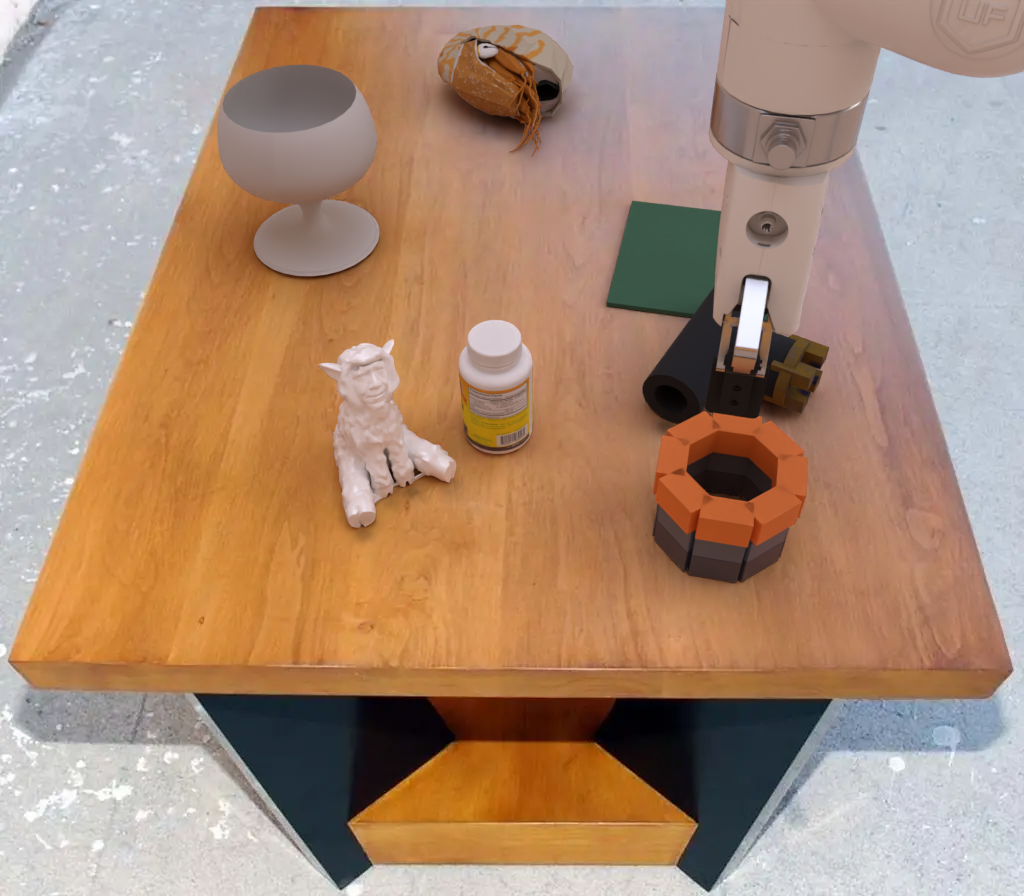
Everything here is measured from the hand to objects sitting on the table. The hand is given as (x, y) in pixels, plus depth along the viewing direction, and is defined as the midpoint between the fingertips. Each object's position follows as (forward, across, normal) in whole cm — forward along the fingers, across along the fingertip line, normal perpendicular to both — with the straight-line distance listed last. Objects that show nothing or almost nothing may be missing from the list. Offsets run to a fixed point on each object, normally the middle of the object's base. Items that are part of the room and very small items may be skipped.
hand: (739, 358), depth 64 cm
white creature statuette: (+15, -2, +25) cm, 30 cm away
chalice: (+15, +24, +41) cm, 50 cm away
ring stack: (+15, -2, -1) cm, 15 cm away
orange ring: (+10, -2, -1) cm, 11 cm away
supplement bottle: (+15, +4, +17) cm, 23 cm away
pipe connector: (+15, +14, -1) cm, 21 cm away
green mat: (+15, +29, +4) cm, 33 cm away
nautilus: (+15, +51, +28) cm, 60 cm away
